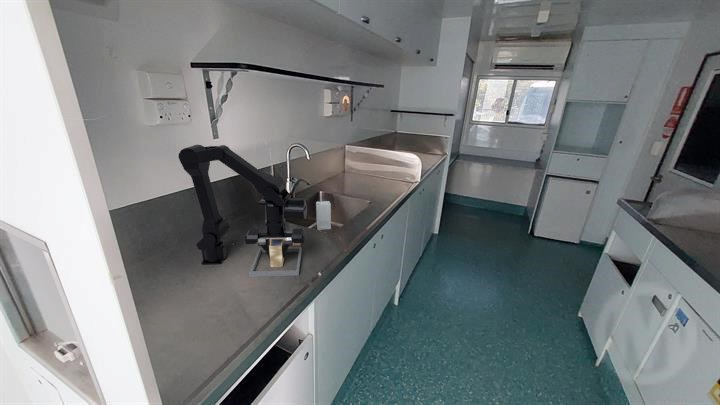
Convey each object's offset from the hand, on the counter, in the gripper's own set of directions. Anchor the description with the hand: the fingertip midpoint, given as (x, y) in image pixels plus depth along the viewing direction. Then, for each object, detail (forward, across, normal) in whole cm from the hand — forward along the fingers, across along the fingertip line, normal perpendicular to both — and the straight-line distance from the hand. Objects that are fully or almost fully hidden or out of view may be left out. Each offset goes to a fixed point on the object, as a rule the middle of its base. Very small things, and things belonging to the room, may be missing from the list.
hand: (277, 257), depth 100 cm
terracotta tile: (+2, -1, -15) cm, 15 cm away
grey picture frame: (+2, 0, 0) cm, 2 cm away
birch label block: (+2, 0, 0) cm, 2 cm away
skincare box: (+2, -16, -27) cm, 31 cm away
